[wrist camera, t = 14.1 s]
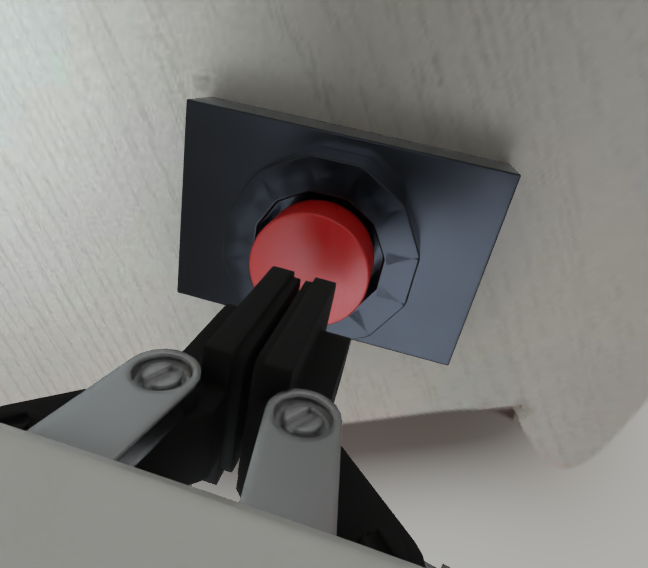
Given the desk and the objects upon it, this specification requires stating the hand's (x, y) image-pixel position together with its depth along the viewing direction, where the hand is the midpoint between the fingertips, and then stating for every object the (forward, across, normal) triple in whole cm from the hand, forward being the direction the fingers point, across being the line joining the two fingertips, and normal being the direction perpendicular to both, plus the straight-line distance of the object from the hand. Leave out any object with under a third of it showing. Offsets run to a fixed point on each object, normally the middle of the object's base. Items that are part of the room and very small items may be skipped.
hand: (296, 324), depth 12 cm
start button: (+5, +1, 0) cm, 5 cm away
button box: (+8, +1, 0) cm, 9 cm away
